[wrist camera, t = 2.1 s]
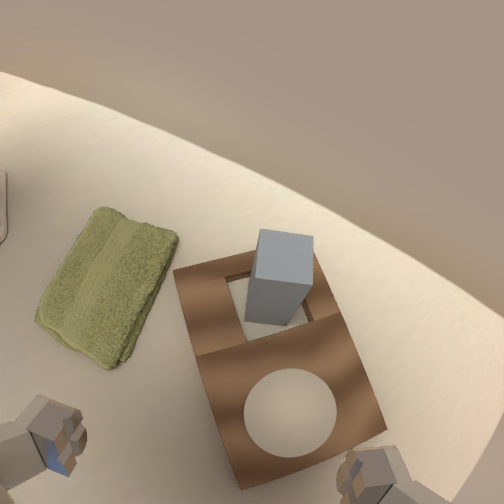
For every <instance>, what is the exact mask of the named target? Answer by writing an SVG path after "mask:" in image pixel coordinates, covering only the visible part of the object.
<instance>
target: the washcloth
mask: <svg viewBox="0 0 504 504" xmlns="http://www.w3.org/2000/svg"><path fill="white" fill-rule="evenodd" d="M176 234H177V233H175V232H173V231H171V230H167V229H163V228H159V227H154V225H150V224H148V223H138V222H135V221H132V220H129V219H127V218H126V217H125V216H124V215H123V214H121V213H120V212H118V211H116V210H114V209H112V208H109V207H99V208H98V209H97V210H95V211H94V212H93V215H92V216H91V217H90V219H89V221H88V223H87V225H86V227H85V228H84V230H83V231H82V233H81V234H80V235H79V237H78V239H77V241H76V242H75V244H74V245H73V246H72V248H71V250H70V252H69V254H68V255H67V256H66V258H65V260H64V262H63V263H62V265H61V267H60V269H59V270H58V271H57V274H56V275H55V277H54V278H53V280H52V282H51V283H50V285H49V286H48V287H47V289H46V291H45V293H44V295H43V297H42V299H41V301H40V305H39V307H38V309H37V310H36V314H35V322H36V323H37V324H39V325H40V326H41V327H43V328H44V329H45V330H46V331H48V332H49V333H50V334H51V335H52V336H53V337H54V338H55V339H57V340H58V341H59V342H61V343H62V344H63V345H64V346H66V347H68V348H70V349H72V350H76V351H81V352H82V353H84V354H85V355H87V356H88V357H90V358H91V359H93V360H94V361H96V362H97V363H98V364H99V365H100V366H102V367H103V368H104V369H107V370H110V369H111V368H112V366H113V367H114V368H115V366H116V364H117V360H120V361H122V362H124V363H125V362H126V360H127V358H129V357H130V354H131V351H132V349H133V347H134V344H135V341H136V338H137V335H138V334H139V333H140V331H141V328H142V325H143V322H144V319H145V318H146V315H147V314H148V312H149V309H150V307H151V304H153V301H154V297H155V294H156V292H157V291H158V290H159V287H160V286H159V285H160V284H161V282H162V280H163V279H164V277H165V272H166V270H167V268H168V266H169V264H170V260H171V257H172V256H173V254H174V252H175V249H176V244H177V242H178V238H179V237H178V235H176Z"/></svg>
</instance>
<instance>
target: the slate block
mask: <svg viewBox="0 0 504 504" xmlns="http://www.w3.org/2000/svg"><path fill="white" fill-rule="evenodd" d="M312 286H313V236H308V235H301V234H294V233H287V232H280V231H273V230H266V229H260V233H259V238H258V242H257V247H256V252H255V256H254V261H253V266H252V271H251V275H250V280H249V286H248V294H247V303H246V311H245V320H244V321H246V322H254V323H263V324H271V325H280V326H286V325H287V324H288V322H289V321H290V319H291V318H292V316H293V315H294V313H295V312H296V310H297V309H298V307H299V306H300V304H301V303H302V301H303V300H304V298H305V296H306V295H307V293H308V292H309V290H310V289H311V287H312Z"/></svg>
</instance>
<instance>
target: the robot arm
mask: <svg viewBox="0 0 504 504" xmlns="http://www.w3.org/2000/svg"><path fill="white" fill-rule="evenodd" d="M6 234H7V217H6V172H5V171H4V170H2V169H0V243H1V242H2V241H3V240H4V238H5V237H6ZM82 419H83V417H82V414H81V411H79V410H77V409H75V408H72V407H69V406H67V405H64V404H62V403H59V402H57V401H54V400H52V399H49V398H47V397H44V396H42V395H38V396H36V397H35V398H34V399H33V400H32V402H31V403H30V404H29V405H28V406H27V407H26V409H25V410H24V411H23V412H22V413H21V415H20V416H19V417H18V418H17V419H16V420H15V422H14V423H12V422H7V423H4V424H1V425H0V504H15V502H14V500H13V499H12V498H11V496H10V495H9V494H8V492H7V491H8V490H10V489H12V488H14V487H15V486H17V485H19V484H21V483H23V482H25V481H27V480H28V479H30V478H32V477H34V476H36V475H38V474H39V473H41V472H43V471H45V470H46V468H48V469H50V470H52V471H55V472H57V473H60V474H62V475H65V476H67V477H69V476H70V474H71V473H72V471H73V469H74V467H75V465H76V464H77V463H76V459H75V457H76V456H78V455H80V454H82V452H83V451H84V449H85V446H86V442H87V432H86V428H85V427H84V426H83V425H82V424H81V421H82ZM345 457H346V462H344V463H343V464H341V465H340V467H339V469H338V472H337V478H336V483H337V489H338V491H339V492H340V493H341V494H342V495H343V498H342V499H341V501H340V503H341V504H452V503H450V502H448V501H447V500H445V499H444V498H442V497H441V496H439V495H437V494H436V493H434V492H433V491H431V490H430V489H428V488H427V487H425V486H424V485H422V484H421V483H419V482H418V481H412V479H411V477H410V474H409V472H408V470H407V468H406V465H405V463H404V461H403V459H402V456H401V454H400V452H399V450H398V448H397V447H396V446H395V445H394V446H383V447H369V448H354V449H350V450H349V451H348V452H347V454H346V456H345Z"/></svg>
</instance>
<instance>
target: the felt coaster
mask: <svg viewBox="0 0 504 504" xmlns="http://www.w3.org/2000/svg"><path fill="white" fill-rule="evenodd" d="M336 415H337V408H336V402H335V399H334V396H333V394H332V391H331V390H330V388H329V387H328V386H327V384H326V383H325V382H324V381H323V380H322V379H321V378H319V377H318V376H316V375H315V374H313V373H311V372H308V371H305V370H301V369H282V370H278V371H275V372H272V373H270V374H268V375H267V376H265V377H264V378H262V379H261V380H260V381H259V382H258V383H257V384H256V385H255V386H254V387H253V388H252V390H251V391H250V393H249V395H248V397H247V399H246V402H245V406H244V423H245V426H246V429H247V432H248V434H249V435H250V437H251V439H252V440H253V441H254V442H255V443H256V444H257V445H258V446H259V447H260V448H262V449H263V450H264V451H266V452H268V453H270V454H273V455H276V456H280V457H288V458H290V457H299V456H303V455H306V454H308V453H311V452H313V451H314V450H316V449H317V448H319V447H320V446H321V445H322V444H323V443H324V442H325V441H326V440H327V439H328V437H329V436H330V434H331V432H332V430H333V428H334V425H335V421H336Z"/></svg>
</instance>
